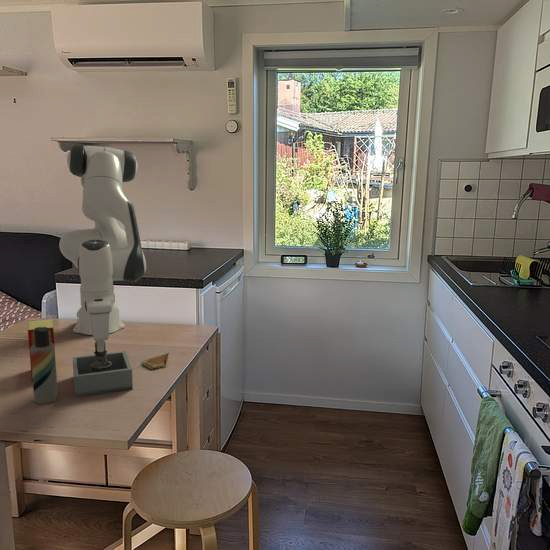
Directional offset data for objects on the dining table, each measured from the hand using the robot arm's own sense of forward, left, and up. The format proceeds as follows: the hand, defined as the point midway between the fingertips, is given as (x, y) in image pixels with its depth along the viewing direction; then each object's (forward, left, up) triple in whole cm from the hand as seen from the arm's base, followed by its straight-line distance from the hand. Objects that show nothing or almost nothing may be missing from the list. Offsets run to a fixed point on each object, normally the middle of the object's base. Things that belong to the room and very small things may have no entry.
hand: (99, 345), depth 139 cm
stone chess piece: (-2, 0, -11) cm, 11 cm away
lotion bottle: (+6, -14, -12) cm, 20 cm away
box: (0, 0, -11) cm, 11 cm away
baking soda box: (-12, -15, -12) cm, 23 cm away
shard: (-10, +17, -12) cm, 23 cm away
